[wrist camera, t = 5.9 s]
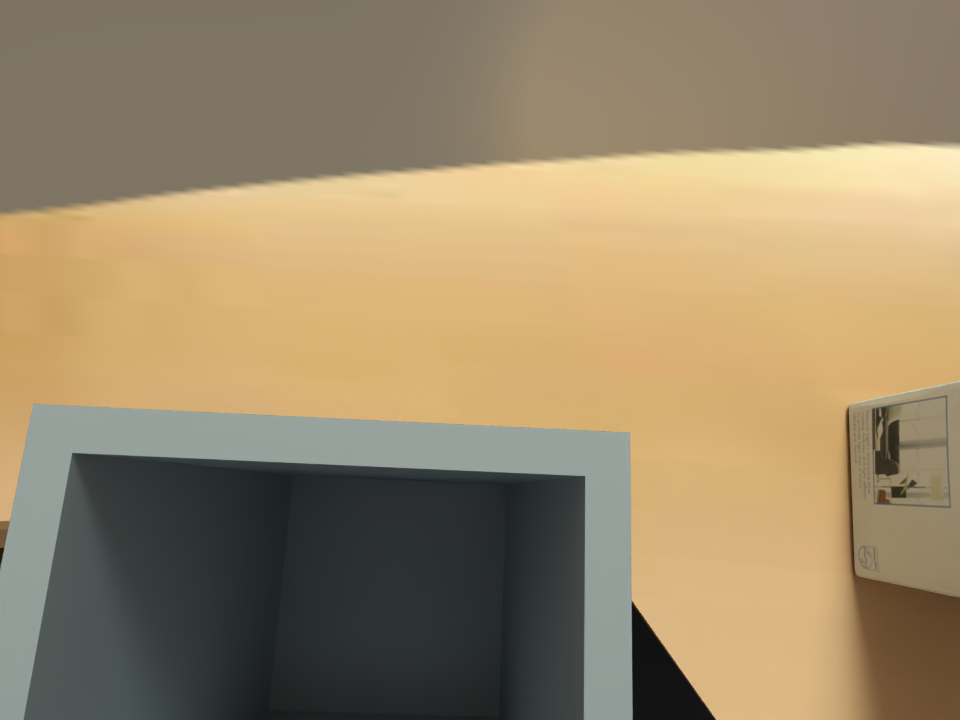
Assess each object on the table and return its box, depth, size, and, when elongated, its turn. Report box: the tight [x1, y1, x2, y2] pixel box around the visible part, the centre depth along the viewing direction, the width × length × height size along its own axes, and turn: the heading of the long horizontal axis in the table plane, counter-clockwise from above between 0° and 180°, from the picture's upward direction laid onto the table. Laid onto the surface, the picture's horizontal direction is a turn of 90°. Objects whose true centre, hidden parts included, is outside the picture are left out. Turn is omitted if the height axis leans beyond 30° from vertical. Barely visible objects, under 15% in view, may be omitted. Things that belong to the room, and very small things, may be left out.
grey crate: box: [0, 404, 633, 720], centre depth 11 cm, size 6×6×10 cm
